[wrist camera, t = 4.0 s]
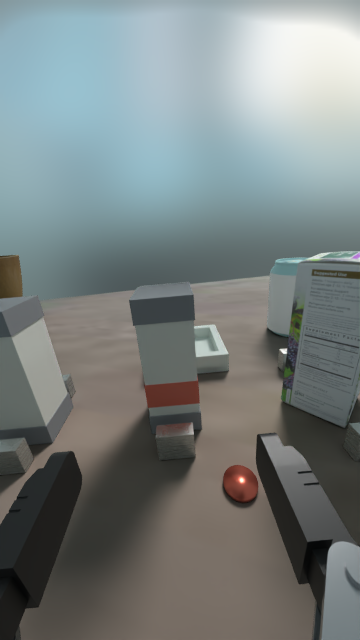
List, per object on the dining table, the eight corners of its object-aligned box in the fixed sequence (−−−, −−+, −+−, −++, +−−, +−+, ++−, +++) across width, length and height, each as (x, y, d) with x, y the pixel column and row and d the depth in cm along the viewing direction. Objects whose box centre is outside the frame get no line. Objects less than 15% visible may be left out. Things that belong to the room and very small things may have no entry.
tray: (152, 377, 29) (149, 361, 28) (157, 343, 39) (155, 329, 38) (228, 370, 29) (228, 354, 28) (214, 337, 39) (214, 324, 38)
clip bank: (-52, 530, 15) (-70, 506, 14) (57, 385, 29) (51, 369, 28) (422, 486, 15) (434, 460, 14) (300, 363, 29) (302, 347, 28)
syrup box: (299, 376, 27) (315, 251, 22) (361, 397, 23) (398, 250, 18) (280, 401, 23) (294, 259, 18) (348, 432, 19) (392, 260, 14)
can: (289, 342, 35) (297, 264, 31) (258, 328, 41) (261, 260, 37) (321, 332, 37) (333, 258, 33) (287, 319, 43) (293, 255, 39)
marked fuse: (151, 433, 21) (129, 300, 16) (155, 399, 25) (138, 286, 21) (201, 429, 21) (193, 294, 16) (196, 395, 25) (188, 281, 21)
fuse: (2, 447, 21) (-64, 317, 16) (31, 410, 25) (-13, 299, 21) (52, 442, 21) (1, 311, 16) (73, 406, 25) (37, 295, 21)
